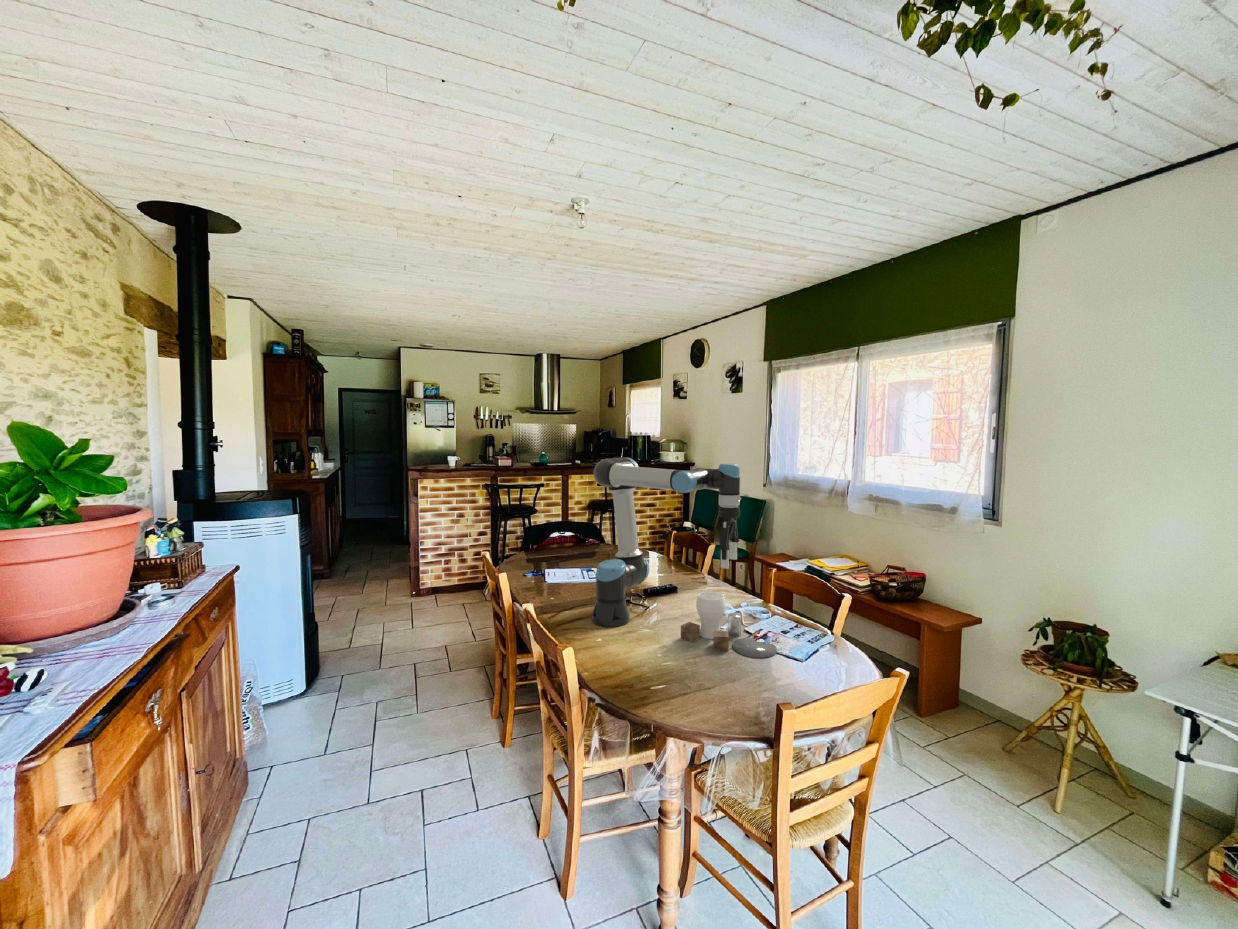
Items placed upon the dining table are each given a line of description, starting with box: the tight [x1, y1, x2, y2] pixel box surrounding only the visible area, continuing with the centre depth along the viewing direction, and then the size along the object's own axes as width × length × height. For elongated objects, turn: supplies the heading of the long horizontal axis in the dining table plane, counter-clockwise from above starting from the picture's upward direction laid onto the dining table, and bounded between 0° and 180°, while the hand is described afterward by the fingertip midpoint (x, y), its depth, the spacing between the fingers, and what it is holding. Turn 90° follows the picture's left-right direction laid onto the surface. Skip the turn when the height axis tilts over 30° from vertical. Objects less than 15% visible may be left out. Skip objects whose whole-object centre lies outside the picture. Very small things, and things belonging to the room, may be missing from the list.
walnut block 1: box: [680, 621, 701, 643], centre depth 188 cm, size 5×5×5 cm
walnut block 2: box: [713, 630, 730, 652], centre depth 180 cm, size 5×5×5 cm
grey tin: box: [727, 612, 742, 637], centre depth 192 cm, size 5×5×7 cm
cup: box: [696, 591, 726, 640], centre depth 190 cm, size 11×11×15 cm
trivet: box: [732, 637, 778, 659], centre depth 179 cm, size 15×15×1 cm
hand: (729, 563), depth 187 cm, fingers open, 13 cm apart
